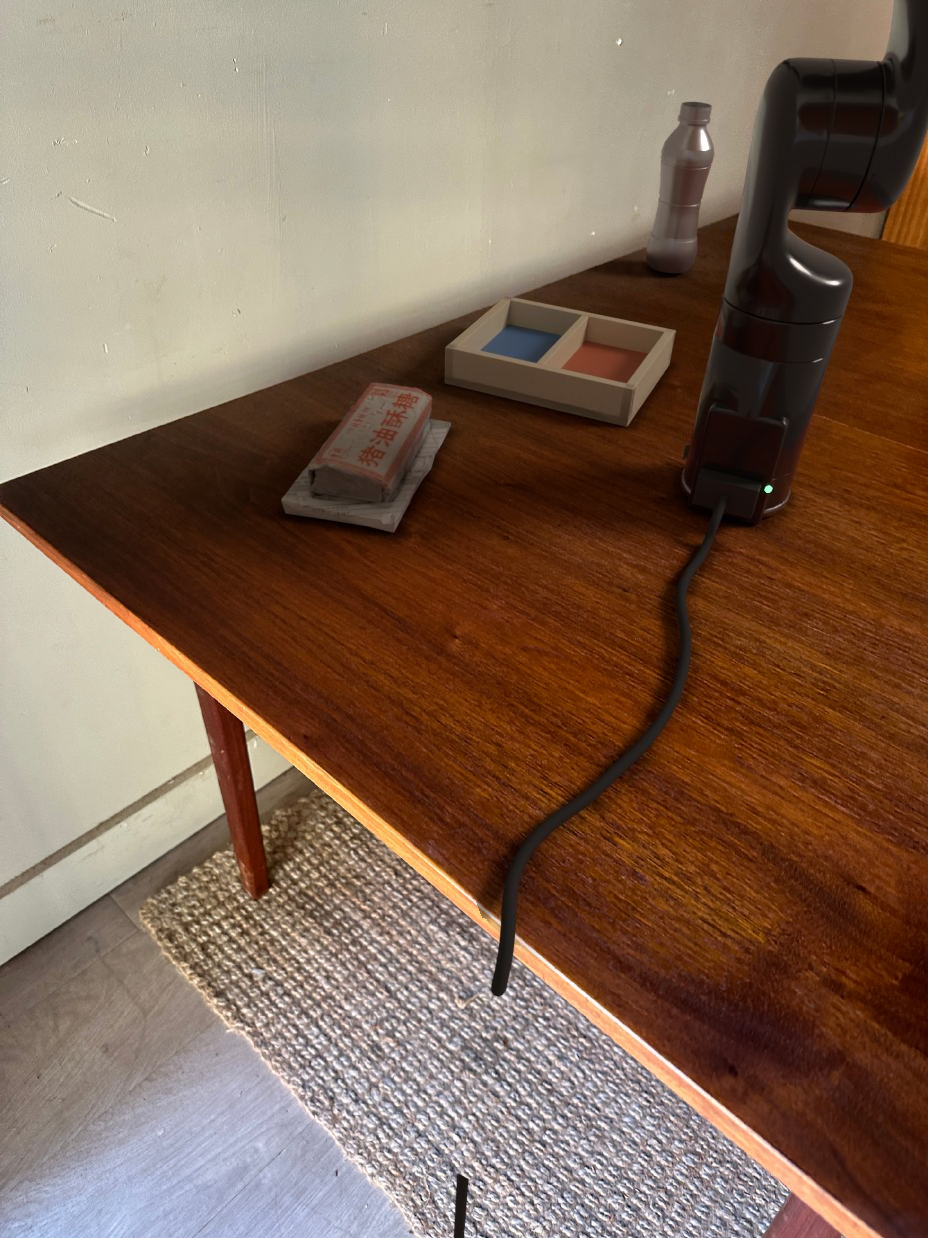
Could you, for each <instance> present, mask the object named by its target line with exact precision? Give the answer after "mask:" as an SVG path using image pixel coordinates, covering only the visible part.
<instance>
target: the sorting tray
mask: <svg viewBox="0 0 928 1238" xmlns="http://www.w3.org/2000/svg"><path fill="white" fill-rule="evenodd" d="M676 332H677V330H675V329H672V328H666V327H661V326H656V325H652V324H646V323H642V322H637V321H632V320H627V319H622V318H617V317H612V316H607V315H603V314H597V313H592V312H588V311H582V310H577V309H572V308H568V307H563V306H558V305H555V304H554V305H553V304H549V303H545V302H544V303H543V302H540V301H539V302H538V301H533V300H529V299H528V300H527V299H523V298H520V297H514V296H509V295H504V297H503V298H502V299H500V300H499V301H498V302H497V303H496V304H494V305H493V306H492V307H491V308H490V309H489V310H488V311H486V312H485V313H484V314H483V315H482V316H480V317H479V318H478V319H477V320H476V321H475V322H473V323H472V324H471V325H470V326H468V328H466V329H465V330H464V331H463V332H461V333H460V334H459V335H458V336H457V337H456V338H454V339H453V340H452V341H451V342H450V343H448V344H447V345H445V347H444V348H445V349H444V350H445V351H444V353H445V355H444V384H447V385H450V386H454V387H459V388H463V389H467V390H471V391H476V392H480V393H484V394H489V395H492V396H496V397H501V398H506V399H509V400H514V401H517V402H522V403H526V404H530V405H535V406H538V407H543V408H546V409H550V410H555V411H559V412H564V413H568V414H571V415H576V416H580V417H584V418H589V419H593V420H596V421H601V422H605V423H610V424H613V425H617V426H622V427H628V426H629V425H630V423H631V422H632V421H633V419H634V417H635V416H636V414H637V413H638V411H639V410H640V408H641V407H642V405H644V403H645V401H646V400H647V398H648V397H649V395H650V394H651V392H652V391H653V390H654V388H655V386H656V385H657V383H658V382H659V381H660V379H661V378H662V377H663V375H664V374H665V372H666V370H667V369H668V368H669V366H670V363H671V358H672V353H673V348H674V343H675V338H676Z"/></svg>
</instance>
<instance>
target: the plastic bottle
mask: <svg viewBox="0 0 928 1238" xmlns="http://www.w3.org/2000/svg"><path fill="white" fill-rule="evenodd" d="M712 108H713V105H711V104H710V103H707V102H706V103H705V102H701V101H683V102H682V103H681V104H680V108H679V114H678V115H677V118H676V119H677V121H678V126H677V127H675V129H673V131H672V132H671V133H670V134H669V135H668V137H667V139H666V140H665V141H664V143H663V145H662V148H661V150H660V175H659V178H660V179H659V190H658V195H659V196H658V199H657V200H658V201H657V207H656V213H655V216H654V221H653V225H652V231H651V232H650V234H649V237H648V240H647V244H646V249H645V251H646V252H645V257H646V258H645V259H646V262H647V264H648V266H649V268H650V269H652V270H654V271H657V272H660V273H666V274H667V273H668V274H682V273H686V272H687V271H689V270H690V269H691V268H692V267H693V265H694V263H695V260H696V257H697V255H698V236H697V235H698V229H699V228H698V227H699V220H700V218H699V217H700V209H701V205H702V199H703V197H704V192H705V187H706V185H707V181H708V177H709V174H710V171H711V168H712V164H713V162H714V158H715V147H714V143H713V141H712V140H713V139H712V138H711V135H710V133H709V130H708V128H707V126H708V125H709V124H710V123H711V114H712Z"/></svg>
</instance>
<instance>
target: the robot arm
mask: <svg viewBox="0 0 928 1238" xmlns="http://www.w3.org/2000/svg"><path fill="white" fill-rule="evenodd" d="M927 135H928V0H893V6H892V16H891V24H890V31H889V36H888V41H887V44H886V48H885V53H884V56H883V58H882V60H867V59H849V58H848V59H847V58H830V57H829V58H828V57H807V56H806V57H803V56H801V57H799V56H798V57H788V58H786V59H783V60H782V61H781V62H779V63H778V64H777V65H776V66H775V67H774V69H773V70H772V72H771V73H770V75H769V76H768V78H767V80H766V82H765V85H764V87H763V90H762V92H761V95H760V99H759V102H758V106H757V109H756V113H755V118H754V123H753V128H752V134H751V139H750V145H749V152H748V158H747V163H746V171H745V176H744V184H743V189H742V195H741V202H740V207H739V213H738V217H737V218H738V219H737V222H736V227H735V231H734V236H733V242H732V246H731V251H730V257H729V260H728V261H729V262H728V268H727V272H726V277H725V280H724V286H723V290H722V295H721V300H720V305H719V308H718V314H717V318H716V323H715V327H714V330H713V335H712V340H711V344H710V349H709V354H708V359H707V363H706V368H705V371H704V377H703V382H702V386H701V390H700V394H699V395H700V396H699V400H698V404H697V409H696V412H695V418H694V423H693V426H692V433H691V437H690V441H689V444H687V445H685V447H684V451H683V456H682V461H684V460H685V459H686V460H685V465H684V468H683V470H682V472H681V476H680V477H681V478H680V488H681V491H682V493H683V494H684V496H686V498H687V499H688V502H687V507H689V508H692V509H696V510H699V511H703V512H707V513H710V514H712V515H711V517H710V520H709V523H708V526H707V529H706V532H705V535H704V537H703V540H702V543H701V544H700V547H699V548H698V550H697V552H696V554H695V555H694V556H693V558H692V559H691V561H690V562H689V564H688V565H687V566H686V567H685V569H684V570H683V572H682V573H681V576H680V577H679V580H678V582H677V586H676V591H675V599H674V601H675V602H674V604H675V614H676V619H677V625H678V629H679V644H680V645H679V654H678V660H677V665H676V671H675V674H674V675H675V676H674V680H673V682H672V686H671V687H670V691H669V693H668V695H667V698H666V700H665V702H664V704H663V705H662V708H661V709H660V711H659V712H658V714H657V716H656V717H655V719H654V720H653V722H652V723H651V725H650V726H649V727H648V728H647V729H646V731H645V732H644V733H643V735H642V736H641V737H640V738H639V739H638V740H637V741H636V742H635V743H634V744H633V745H632V746H631V747H629V749H628V750H627V751H626V752H625V753H624V754H623V755H622V756H621V757H620V758H618V760H616V761H615V762H614V763H613V764H612V765H611V766H610V767H609V768H608V769H607V770H606V771H605V772H603V774H601V776H599V777H598V778H597V779H596V780H595V781H594V782H593V783H592V784H591V785H589V787H588V788H586V789H585V790H584V791H583V792H581V793H580V794H578V795H577V796H576V797H575V798H573V799H572V800H570V801H569V802H567V803H566V804H564V805H563V806H562V807H560V808H559V809H558V810H556V811H555V812H554V813H552V814H551V815H549V816H548V817H547V818H546V819H544V820H542V822H541V823H539V825H538V826H536V827H535V828H534V829H533V830H532V832H530V833H529V835H528V836H527V837H526V839H525V840H524V841H523V843H522V844H521V845H520V847H519V849H518V850H517V852H516V854H515V855H514V857H513V859H512V861H511V863H510V865H509V868H508V871H507V874H506V877H505V881H504V885H503V890H502V891H503V892H502V898H501V909H500V911H501V912H500V928H499V932H500V933H499V941H498V949H497V955H496V961H495V962H496V963H495V966H494V971H493V975H492V980H491V984H490V992H491V994H492V995H493V996H494V997H497V998H498V997H501V996H503V995H504V994H505V993H506V991H507V987H508V983H509V978H510V975H511V970H512V964H513V959H514V951H515V944H516V931H517V930H516V929H517V928H516V927H517V907H518V905H517V904H518V893H519V887H520V883H521V879H522V876H523V873H524V870H525V869H526V867H527V864H528V862H529V861H530V859H531V858H532V856H533V854H534V853H535V852H536V850H537V849H538V847H539V846H540V845H541V844H542V843H543V842H544V841H545V840H546V839H547V838H548V837H549V836H550V835H551V834H552V833H553V832H554V831H556V830H557V829H558V828H559V827H561V826H562V825H563V824H564V823H566V822H567V821H569V820H570V819H572V818H573V817H575V816H576V815H577V814H579V812H582V811H583V810H584V809H586V808H587V807H588V806H589V805H591V804H592V803H593V802H594V801H595V800H597V799H598V798H599V797H600V796H601V795H603V793H604V792H606V791H607V790H608V789H609V788H610V787H611V786H612V785H613V784H614V783H615V782H616V781H617V780H618V779H619V778H620V777H621V776H623V774H624V773H625V772H626V771H627V770H629V768H631V767H632V766H633V765H634V764H635V763H636V762H637V761H638V760H639V759H640V758H641V757H642V756H643V755H644V754H645V753H646V752H647V751H648V749H649V748H650V747H651V746H652V745H653V744H654V742H655V741H656V740H657V739H658V737H659V736H660V735H661V733H663V730H664V729H665V727H666V726H667V724H668V722H669V721H670V719H671V718H672V716H673V714H674V711H675V710H676V708H677V706H678V704H679V701H680V699H681V696H682V694H683V692H684V689H685V685H686V683H687V678H688V674H689V668H690V663H691V657H692V655H691V654H692V643H693V642H692V641H693V640H692V639H693V638H692V631H691V624H690V620H689V615H688V614H689V613H688V610H687V609H688V608H687V593H688V588H689V584H690V581H691V579H692V578H693V577H694V575H695V574H696V572H697V571H698V570H699V569H700V567H701V565H703V563H704V561H705V559H706V558H707V556H708V554H709V552H710V551H711V548H712V545H713V543H714V540H715V538H716V535H717V532H718V528H719V526H720V523H721V520H722V518H723V517H726V518H730V519H734V520H736V521H737V520H738V521H741V522H745V523H748V524H753V525H760V523H761V521H762V519H765V518H769V517H772V516H775V515H777V514H779V513H780V512H782V511H783V510H784V509H785V508H786V506H787V504H788V503H789V499H790V496H791V488H792V485H793V482H794V478H795V475H796V472H797V469H798V466H799V461H800V459H801V455H802V452H803V448H804V447H805V443H806V439H807V437H808V433H809V429H810V426H811V424H812V421H813V418H814V417H813V416H814V413H815V410H816V408H817V407H816V406H817V403H818V401H819V397H820V395H821V390H822V387H823V384H824V381H825V378H826V374H827V371H828V369H829V365H830V362H831V358H832V355H833V352H834V350H835V346H836V343H837V340H838V337H839V334H840V331H841V327H842V324H843V321H844V317H845V314H846V311H847V307H848V304H849V302H850V297H851V295H852V292H853V291H852V290H853V286H854V275H853V273H852V272H853V271H852V270H851V269H850V268H849V266H848V265H847V264H846V263H845V262H844V261H842V260H841V259H840V258H838V257H837V256H835V255H833V254H831V253H830V252H827V251H825V250H823V249H821V248H819V247H817V246H814V245H812V244H810V243H808V242H806V241H805V240H803V239H802V238H800V237H799V236H798V235H796V234H795V233H794V232H793V231H792V230H791V229H790V228H789V225H788V224H789V216H790V213H791V211H793V210H800V211H815V212H817V211H818V212H832V213H843V214H845V213H849V214H850V213H851V214H879V213H882V212H885V211H888V210H889V209H890V208H892V207H893V205H894V204H895V203H896V202H898V200H899V199H900V197H901V196H902V194H903V193H904V192H905V189H906V188H907V186H908V184H909V182H910V180H911V178H912V176H913V173H914V172H915V169H916V166H917V165H918V162H919V160H920V156H921V154H922V150H923V147H924V144H925V141H926V138H927ZM469 1183H470V1180H469V1178H468V1177H467V1176H464V1175H463V1174H460V1173H459V1172H457V1173H456V1183H455V1185H456V1187H455V1200H454V1201H455V1204H454V1205H455V1206H454V1223H453V1238H465V1235H466V1234H465V1233H466V1220H467V1207H468V1206H467V1205H468V1195H469V1194H468V1193H469Z"/></svg>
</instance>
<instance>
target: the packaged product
mask: <svg viewBox="0 0 928 1238" xmlns="http://www.w3.org/2000/svg"><path fill="white" fill-rule="evenodd" d="M432 406H433V396H432V395H431V394H429V393H427V392H426V391H424V390H422V389H421V388H418V387H410V386H404V385H403V386H401V385H398V384H396V385H395V384H393V383H392V384H391V383H381V382H369V385H368V386H367V387H366V388H365V390H364V391H363V392H362V393H361V395H359V396H358V399H357V401H356V402H355V403H354V404H353V405H352V406H350V408H349V411H347V412H346V415H345V416H344V417H343V418H342V419H341V421H340V422H339V423H338V424H337V426H336V428H335V429H334V430H333V432H331V434H330V435H329V436H328V438H327V439H326V440H325V441H324V442H323V444H322V445H321V447H320V449H319V450H318V451H317V452H316V454H315V455H314V456H313V457H312V459H311V460H310V461H309V463H308V465H307V466H306V467H305V468H304V469H303V470H302V472H301V473H300V474H299V476H298V477H297V478H296V480H295V481H294V482H293V484H292V485H291V486H290V487H289V489H288V491H287V492H286V493H285V495H283V496H282V497H281V500H280V501H281V504H282V507H283V511H284V513H285V514H287V515H293V516H300V517H306V518H314V519H321V520H325V521H326V520H327V521H333V522H340V523H346V524H353V525H357V526H364V527H368V528H373V529H377V530H381V531H386V532H389V533H395V531H396V530H397V527H398V526H399V524H400V522H401V520H402V518H403V516H404V514H405V512H406V510H407V509H408V507H409V505H410V503H411V500H412V498H413V496H414V494H416V492H417V490H418V488H419V486H420V485H421V483H422V482H423V480H424V479H425V477H426V476H427V475H428V474H429V472H430V471H431V470H432V468H433V465H434V460H435V457H436V454H437V453H438V452H439V450H440V448H441V446H442V444H443V443H444V441H445V439H446V436H447V435H448V433H449V431H450V428H451V427H452V423H451V421H445V420H439V419H435V418H431V414H432Z"/></svg>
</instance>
